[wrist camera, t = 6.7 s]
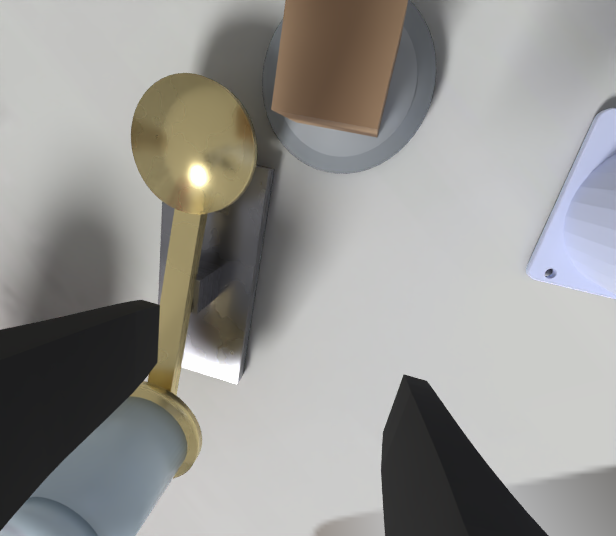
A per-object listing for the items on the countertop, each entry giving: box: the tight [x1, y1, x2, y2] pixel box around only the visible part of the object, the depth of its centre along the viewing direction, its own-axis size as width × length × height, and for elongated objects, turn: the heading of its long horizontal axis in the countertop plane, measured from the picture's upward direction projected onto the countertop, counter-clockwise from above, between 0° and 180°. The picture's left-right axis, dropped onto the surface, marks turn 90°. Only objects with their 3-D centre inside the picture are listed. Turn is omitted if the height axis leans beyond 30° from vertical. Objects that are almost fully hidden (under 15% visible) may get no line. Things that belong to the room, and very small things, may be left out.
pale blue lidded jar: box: [0, 396, 187, 536], centre depth 15 cm, size 5×5×6 cm
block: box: [271, 0, 408, 137], centre depth 13 cm, size 4×4×4 cm
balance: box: [130, 73, 274, 478], centre depth 18 cm, size 21×6×6 cm, turn 169°
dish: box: [262, 0, 436, 174], centre depth 15 cm, size 8×8×1 cm
